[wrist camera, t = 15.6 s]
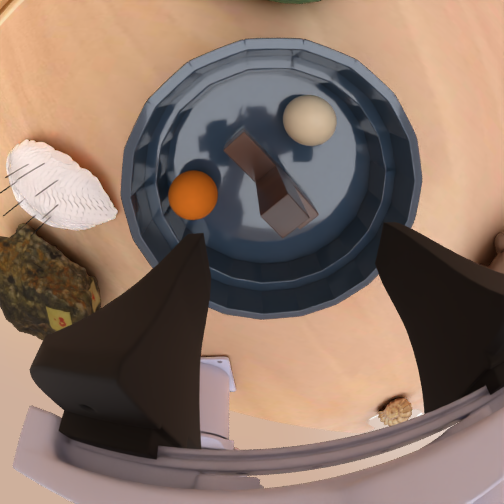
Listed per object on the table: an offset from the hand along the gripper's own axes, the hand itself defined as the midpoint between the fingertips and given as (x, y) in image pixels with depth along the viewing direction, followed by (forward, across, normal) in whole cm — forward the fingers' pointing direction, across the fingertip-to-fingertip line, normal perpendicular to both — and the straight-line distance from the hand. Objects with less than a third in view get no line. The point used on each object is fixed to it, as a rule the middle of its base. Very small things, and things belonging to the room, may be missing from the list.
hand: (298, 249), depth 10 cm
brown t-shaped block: (+8, 0, 0) cm, 8 cm away
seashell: (+9, -24, +44) cm, 50 cm away
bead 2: (+6, -2, -4) cm, 8 cm away
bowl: (+8, 0, 0) cm, 9 cm away
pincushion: (+9, +16, -2) cm, 19 cm away
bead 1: (+6, +5, 0) cm, 8 cm away
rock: (+9, +20, +6) cm, 23 cm away
